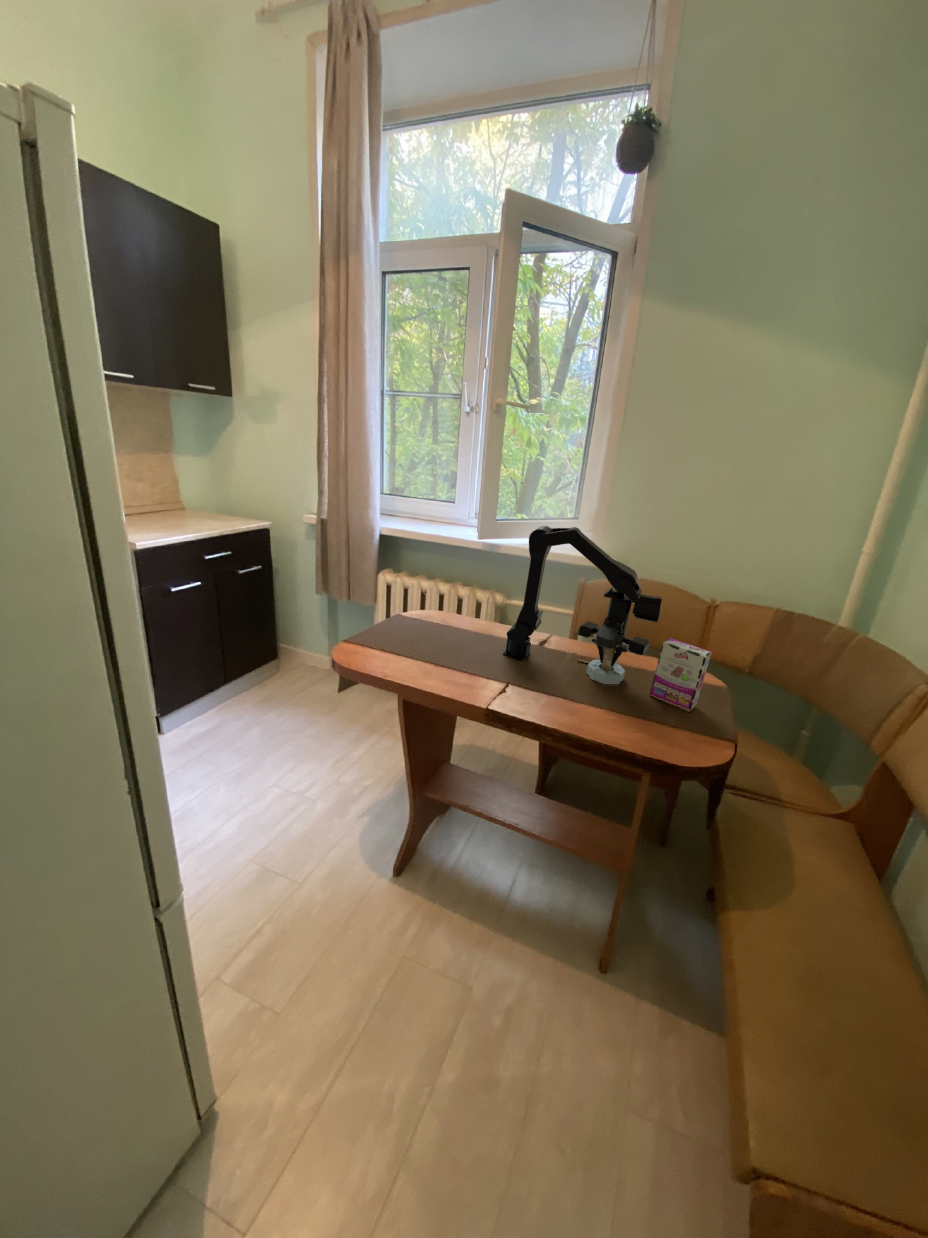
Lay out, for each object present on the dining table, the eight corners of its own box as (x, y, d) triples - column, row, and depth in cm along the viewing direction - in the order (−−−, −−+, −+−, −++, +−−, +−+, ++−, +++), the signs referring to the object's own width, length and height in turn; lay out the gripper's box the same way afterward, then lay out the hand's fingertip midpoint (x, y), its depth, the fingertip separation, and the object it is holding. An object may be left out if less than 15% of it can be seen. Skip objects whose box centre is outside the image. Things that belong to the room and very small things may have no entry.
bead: (582, 676, 139) (584, 667, 138) (594, 665, 146) (596, 656, 145) (614, 688, 134) (617, 679, 133) (626, 676, 141) (628, 667, 140)
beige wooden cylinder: (598, 673, 139) (605, 642, 135) (602, 670, 141) (608, 639, 138) (608, 677, 138) (615, 645, 134) (611, 673, 140) (618, 642, 136)
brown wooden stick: (577, 661, 148) (578, 660, 147) (578, 660, 148) (578, 659, 148) (617, 671, 143) (618, 670, 143) (618, 670, 144) (618, 669, 144)
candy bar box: (696, 706, 129) (713, 651, 122) (689, 713, 125) (706, 657, 119) (655, 689, 135) (669, 636, 129) (648, 695, 132) (662, 641, 126)
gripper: (574, 612, 131) (565, 663, 137) (643, 632, 121) (630, 686, 127) (590, 602, 140) (580, 650, 146) (655, 620, 130) (642, 671, 136)
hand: (607, 664), depth 138 cm, fingers closed on beige wooden cylinder, 3 cm apart
